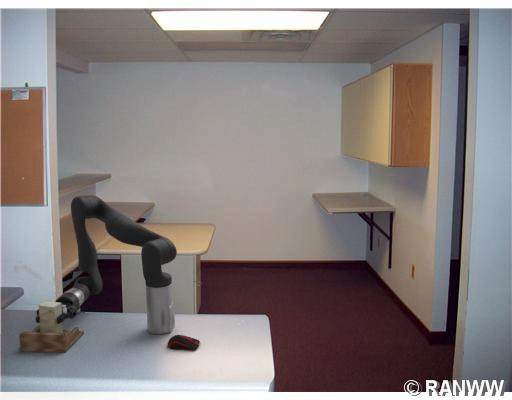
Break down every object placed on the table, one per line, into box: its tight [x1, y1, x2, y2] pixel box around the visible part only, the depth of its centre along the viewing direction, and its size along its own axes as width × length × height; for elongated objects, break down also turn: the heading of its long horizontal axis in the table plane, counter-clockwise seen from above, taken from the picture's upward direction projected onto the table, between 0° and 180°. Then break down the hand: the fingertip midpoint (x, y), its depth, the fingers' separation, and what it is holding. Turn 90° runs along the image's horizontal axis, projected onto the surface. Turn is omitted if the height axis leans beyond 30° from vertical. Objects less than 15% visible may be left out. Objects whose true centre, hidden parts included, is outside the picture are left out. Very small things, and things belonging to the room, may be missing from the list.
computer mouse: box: [166, 334, 201, 351], centre depth 167 cm, size 6×11×4 cm, turn 81°
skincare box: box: [38, 300, 64, 333], centre depth 169 cm, size 6×4×12 cm
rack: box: [18, 325, 85, 353], centre depth 170 cm, size 16×14×6 cm
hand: (47, 320), depth 167 cm, fingers closed on skincare box, 6 cm apart
